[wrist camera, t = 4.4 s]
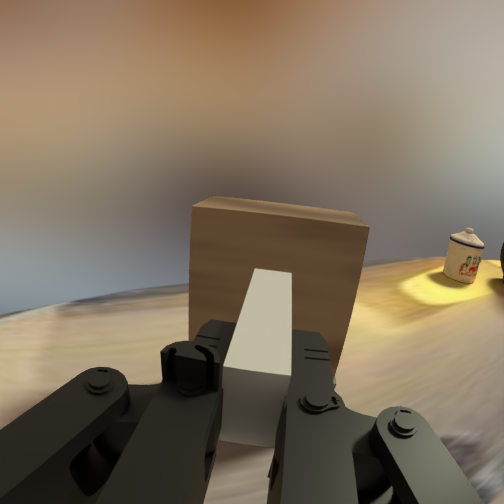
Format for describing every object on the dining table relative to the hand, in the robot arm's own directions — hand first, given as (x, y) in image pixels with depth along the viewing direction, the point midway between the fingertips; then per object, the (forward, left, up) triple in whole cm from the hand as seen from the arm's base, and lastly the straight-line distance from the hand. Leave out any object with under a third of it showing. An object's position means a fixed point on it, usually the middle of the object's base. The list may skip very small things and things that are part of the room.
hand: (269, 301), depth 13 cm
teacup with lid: (-8, -67, -13) cm, 69 cm away
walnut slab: (+4, -6, -13) cm, 15 cm away
